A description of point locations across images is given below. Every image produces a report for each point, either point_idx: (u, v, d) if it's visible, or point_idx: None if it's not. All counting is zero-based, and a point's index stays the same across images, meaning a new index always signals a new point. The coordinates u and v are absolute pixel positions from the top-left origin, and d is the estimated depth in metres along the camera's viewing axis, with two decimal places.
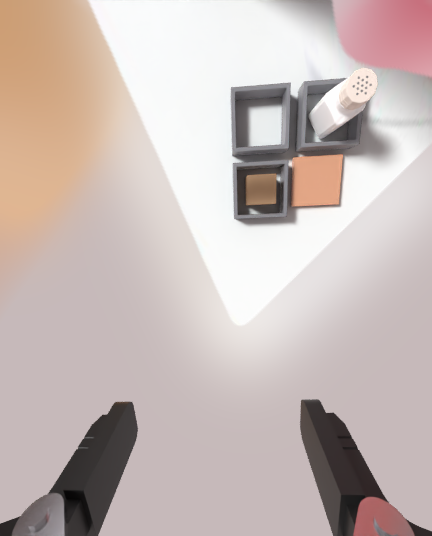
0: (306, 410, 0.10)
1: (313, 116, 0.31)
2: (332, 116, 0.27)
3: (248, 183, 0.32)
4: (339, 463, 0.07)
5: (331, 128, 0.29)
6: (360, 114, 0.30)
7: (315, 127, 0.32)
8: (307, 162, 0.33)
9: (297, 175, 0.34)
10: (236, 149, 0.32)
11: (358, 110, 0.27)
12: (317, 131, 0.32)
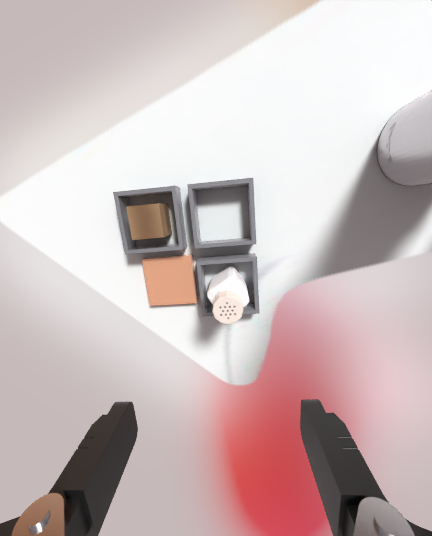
0: (306, 410, 0.10)
1: (226, 270, 0.30)
2: (214, 287, 0.27)
3: (149, 205, 0.27)
4: (339, 463, 0.07)
5: (208, 288, 0.28)
6: None
7: (219, 273, 0.31)
8: (186, 270, 0.32)
9: (173, 261, 0.31)
10: (190, 189, 0.27)
11: None
12: (215, 276, 0.31)
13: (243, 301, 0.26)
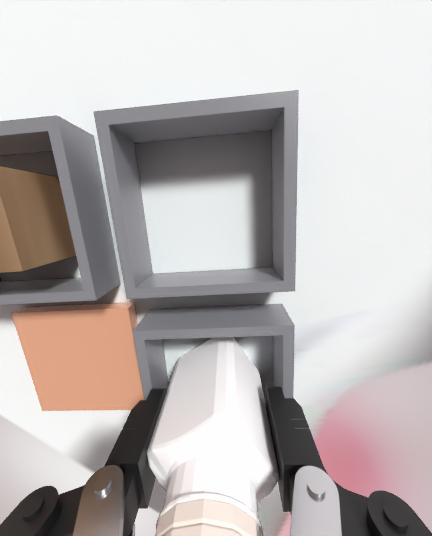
0: (268, 395, 0.10)
1: (213, 352, 0.12)
2: (167, 441, 0.08)
3: None
4: (287, 439, 0.08)
5: (158, 419, 0.10)
6: None
7: (195, 353, 0.13)
8: (119, 340, 0.13)
9: (87, 320, 0.13)
10: (102, 126, 0.09)
11: None
12: (186, 358, 0.13)
13: (261, 488, 0.08)
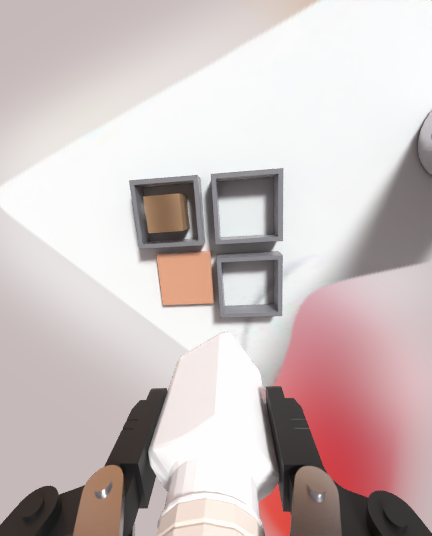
0: (268, 395, 0.10)
1: (214, 352, 0.12)
2: (168, 441, 0.08)
3: (169, 195, 0.24)
4: (287, 439, 0.08)
5: (159, 418, 0.10)
6: (247, 315, 0.29)
7: (196, 352, 0.13)
8: (204, 267, 0.29)
9: (190, 258, 0.29)
10: (213, 179, 0.25)
11: None
12: (187, 358, 0.13)
13: (263, 488, 0.08)
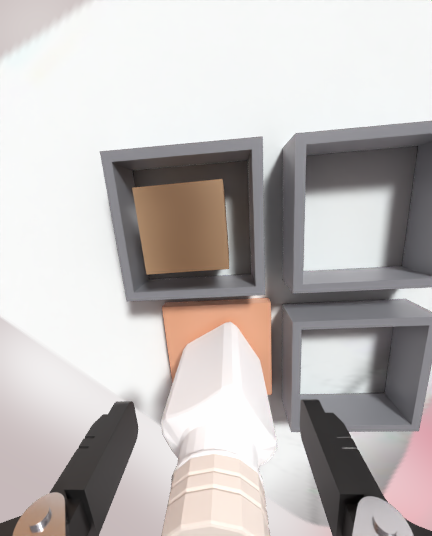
0: (305, 410, 0.10)
1: (218, 338, 0.13)
2: (179, 411, 0.09)
3: (197, 184, 0.10)
4: (338, 462, 0.07)
5: (169, 395, 0.11)
6: (347, 428, 0.14)
7: (201, 340, 0.14)
8: (257, 331, 0.15)
9: (231, 313, 0.15)
10: (300, 146, 0.10)
11: None
12: (193, 345, 0.14)
13: (262, 455, 0.09)
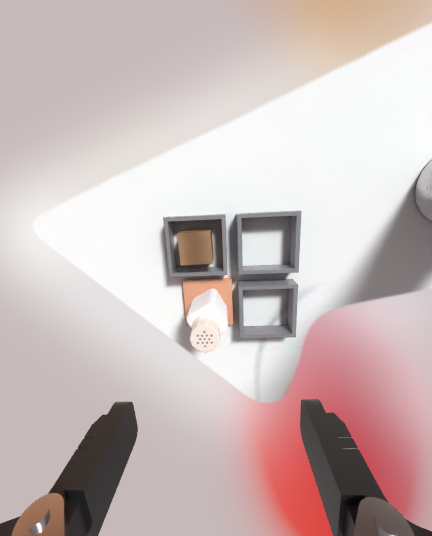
0: (306, 410, 0.10)
1: (208, 293, 0.30)
2: (193, 312, 0.27)
3: (200, 233, 0.27)
4: (339, 463, 0.07)
5: (188, 311, 0.28)
6: (265, 336, 0.32)
7: (200, 295, 0.32)
8: (226, 293, 0.33)
9: (214, 284, 0.32)
10: (239, 218, 0.28)
11: None
12: (197, 297, 0.32)
13: (221, 327, 0.27)
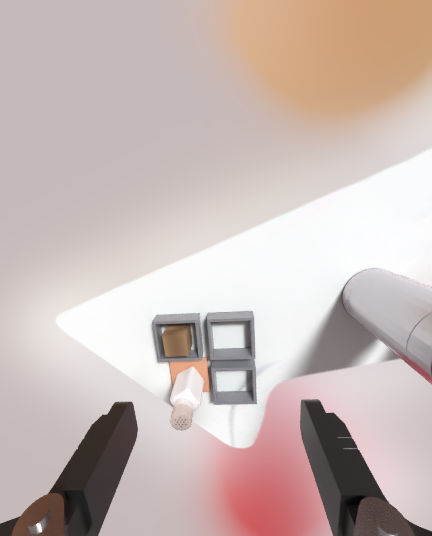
0: (306, 410, 0.10)
1: (187, 373, 0.40)
2: (174, 395, 0.37)
3: (179, 335, 0.37)
4: (339, 463, 0.07)
5: (172, 391, 0.38)
6: (233, 403, 0.42)
7: (182, 373, 0.41)
8: (202, 369, 0.42)
9: (193, 363, 0.42)
10: (208, 322, 0.38)
11: None
12: (180, 374, 0.41)
13: (195, 406, 0.37)
